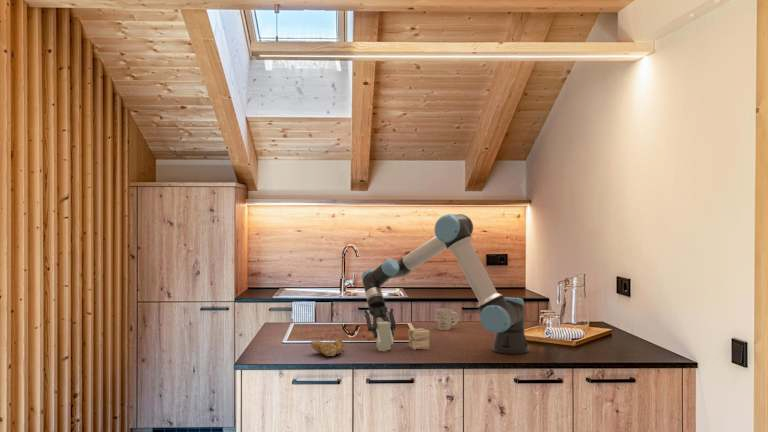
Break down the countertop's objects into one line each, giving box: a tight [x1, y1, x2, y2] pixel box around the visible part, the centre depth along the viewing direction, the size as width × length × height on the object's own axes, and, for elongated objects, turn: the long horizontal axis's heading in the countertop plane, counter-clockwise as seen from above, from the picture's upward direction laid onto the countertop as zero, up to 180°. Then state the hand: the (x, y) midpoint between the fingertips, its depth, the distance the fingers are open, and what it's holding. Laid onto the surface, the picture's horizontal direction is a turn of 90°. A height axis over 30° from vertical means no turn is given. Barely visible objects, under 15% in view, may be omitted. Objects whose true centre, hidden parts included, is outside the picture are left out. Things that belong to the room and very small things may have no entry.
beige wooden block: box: [408, 338, 430, 351], centre depth 274 cm, size 7×7×4 cm
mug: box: [435, 307, 460, 331], centre depth 317 cm, size 8×13×10 cm, turn 115°
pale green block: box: [375, 321, 392, 350], centre depth 270 cm, size 5×5×12 cm
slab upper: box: [407, 327, 431, 342], centre depth 274 cm, size 7×7×4 cm
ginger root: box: [310, 337, 346, 357], centre depth 262 cm, size 16×16×8 cm
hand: (385, 343), depth 266 cm, fingers closed on pale green block, 5 cm apart
